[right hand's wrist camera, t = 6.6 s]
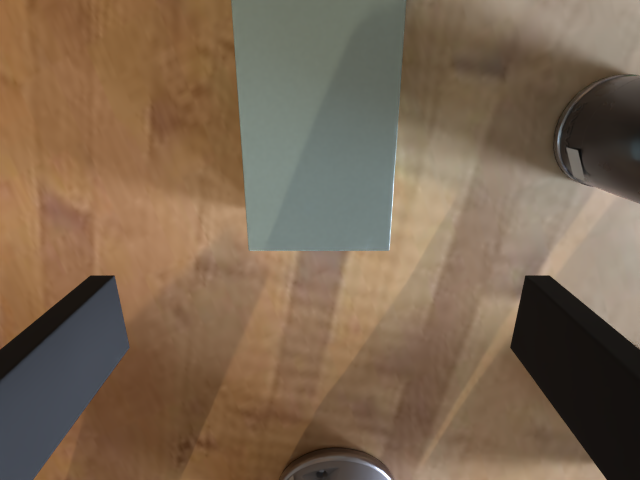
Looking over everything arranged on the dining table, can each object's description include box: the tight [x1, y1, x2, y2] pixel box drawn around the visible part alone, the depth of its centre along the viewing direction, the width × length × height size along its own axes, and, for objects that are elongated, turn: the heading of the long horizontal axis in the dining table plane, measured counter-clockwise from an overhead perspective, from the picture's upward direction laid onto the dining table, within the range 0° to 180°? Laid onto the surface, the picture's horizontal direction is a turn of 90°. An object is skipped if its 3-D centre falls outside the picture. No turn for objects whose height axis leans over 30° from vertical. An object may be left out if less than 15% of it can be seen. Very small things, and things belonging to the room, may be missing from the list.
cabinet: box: [231, 0, 406, 251], centre depth 29 cm, size 21×10×9 cm, turn 0°
